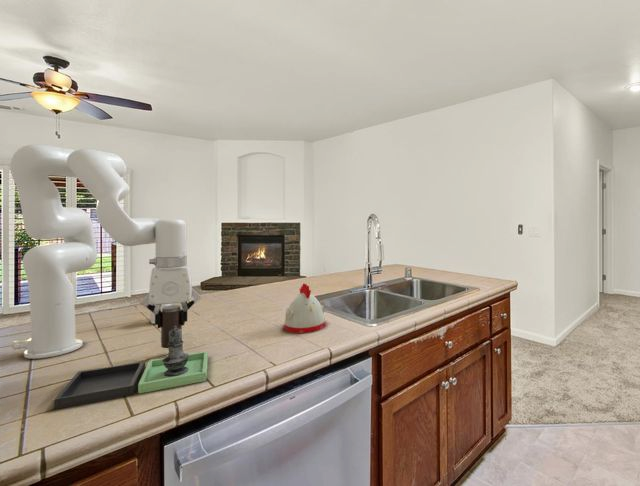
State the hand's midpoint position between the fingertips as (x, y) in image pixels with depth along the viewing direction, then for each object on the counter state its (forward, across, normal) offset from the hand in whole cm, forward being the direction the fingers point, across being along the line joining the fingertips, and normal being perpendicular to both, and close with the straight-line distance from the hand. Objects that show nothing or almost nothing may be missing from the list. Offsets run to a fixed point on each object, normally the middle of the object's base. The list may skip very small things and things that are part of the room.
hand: (171, 324), depth 105 cm
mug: (+9, -7, +39) cm, 40 cm away
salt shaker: (+8, +2, -15) cm, 17 cm away
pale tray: (+8, +3, -15) cm, 18 cm away
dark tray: (+9, -12, -15) cm, 21 cm away
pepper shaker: (+6, 0, 0) cm, 6 cm away
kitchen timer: (+8, +40, +8) cm, 41 cm away
